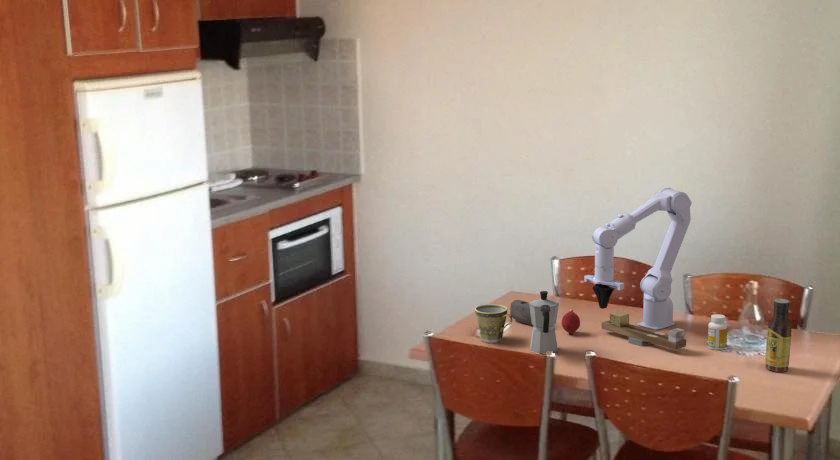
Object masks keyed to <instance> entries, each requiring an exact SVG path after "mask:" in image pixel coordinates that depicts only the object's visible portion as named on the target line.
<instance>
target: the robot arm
mask: <svg viewBox="0 0 840 460" xmlns="http://www.w3.org/2000/svg"><path fill="white" fill-rule="evenodd" d="M692 204H693V202H692V200H691V199H690V197H689V195H688V194H687V193H686V192H683V191H680V190H679V191H678V190H676V189H673V188H671V187H664V188H663V189H661V190H660V191H658V192H656V193H655V194H654V195H653V196H652V197H651V198H649V200H647V201H646V202H644V203H643V204H641V205H640V206H639V207H637V208H636V209H635V210H634V211H632V212H631V213H623V214H622V213H619V214H618V215H617V218H615V219H614V220H612V221H610V222H607V223H605V226H600V227H598V228H597V227H596V229H595V230H594V232H593V233H592V234H593V235H591V240H592V241H593V243H594V248H595V249H594V275H591V274H587V275H584V276H583V278H584V279H583V281H584V283H591V284H594V285H593V286H592V290H593V292H594V293H595V296H596V299H597V303H598V306H599V309H607V308H608V305H609V301H610V299H611V296H612V294H613V292H614V291H615V289H616V290H617V291H621V290H625V283H624V282H621V281H620V280H617V279H615V278H614V265H615V264H614V259H615V258H614V257H615V246H616V245H617V243H618V241H619V239H621V238H622V237H624V236H626V235H627V234H629V233H630V232H632V231H633V230H635V229H636V225H637V223H639V222H641V221H642V220H644V219H646V218H647V217H649V216H651V215H652V214H654V213H656V212H658V211H660V212H661V211H665V212H667V214H668V216H669V218H670V225H669V226H668V229H667V232H666V234H665V236H664V239H663V242H662V245H661V247H660V250H659V253H658V255H657V257H656V259H655V263H654V265H653V266H652V267H651V268H650V269H648V270H647V273H646V274H645V276H644V277H643V278H642V279H641V281H640V282H639V283H640V284H639V286H640V287H639V288H640V289H641V291H642V293H643V306H642V307H643V308H642V309H643V310H642V316H643V317H642V321H640V322H637V323H636V326H639V327H642V328H646V329H650V330H653V331H658V330H662V329H665V328H668V327H671V326H674V325H675V324H676V323H675V322H674V303H673V301H672V299H671V298H670V296H671V293H672V283H673V278H672V274H671V273H672V270H673V267H674V265H675V262H676V259H677V257H678V254H679V252H680V249H681V246H682V244H683V241H684V238H685V237H686V235H687V231H688V229H689V227H690V226H689V225H690V224H691V219H692V218H691V206H692Z"/></svg>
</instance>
